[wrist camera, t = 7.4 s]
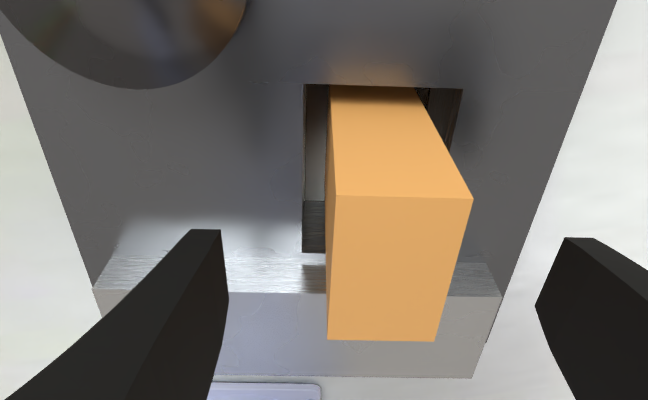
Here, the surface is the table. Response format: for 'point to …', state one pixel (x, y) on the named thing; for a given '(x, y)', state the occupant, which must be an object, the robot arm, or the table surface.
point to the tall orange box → (388, 216)
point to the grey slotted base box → (293, 146)
